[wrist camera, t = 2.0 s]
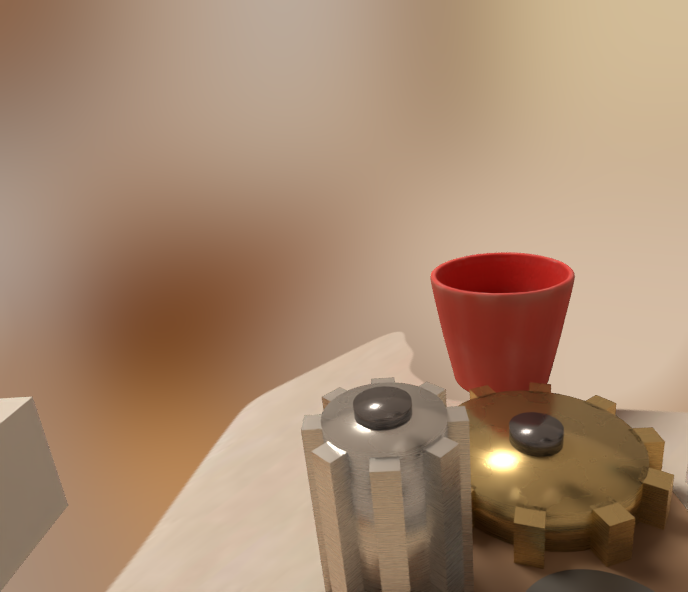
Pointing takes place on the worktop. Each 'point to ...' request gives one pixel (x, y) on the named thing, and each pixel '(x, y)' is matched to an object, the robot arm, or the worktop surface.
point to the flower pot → (502, 317)
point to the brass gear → (562, 474)
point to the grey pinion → (391, 489)
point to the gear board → (591, 563)
